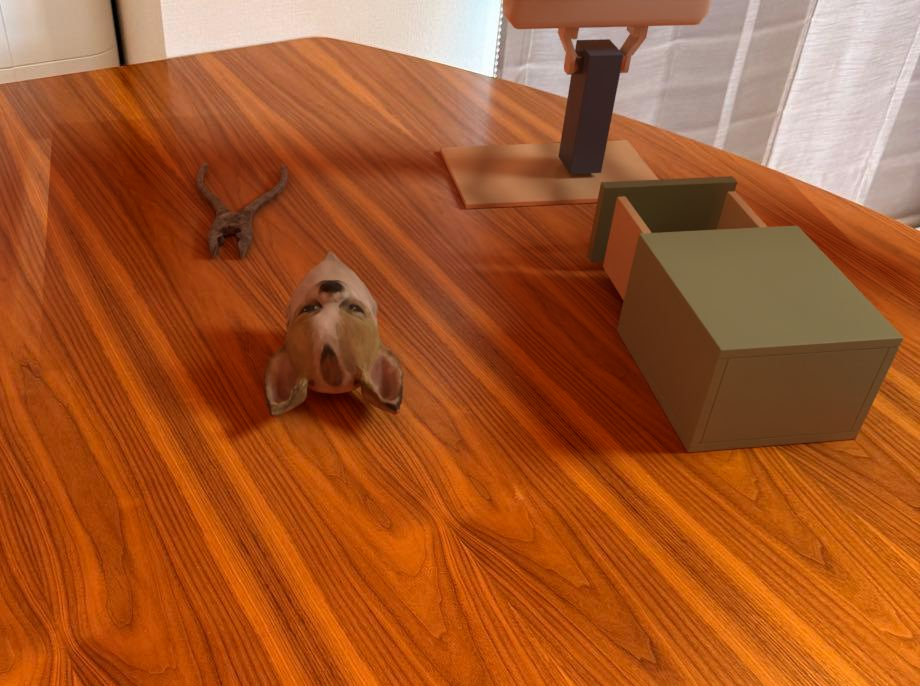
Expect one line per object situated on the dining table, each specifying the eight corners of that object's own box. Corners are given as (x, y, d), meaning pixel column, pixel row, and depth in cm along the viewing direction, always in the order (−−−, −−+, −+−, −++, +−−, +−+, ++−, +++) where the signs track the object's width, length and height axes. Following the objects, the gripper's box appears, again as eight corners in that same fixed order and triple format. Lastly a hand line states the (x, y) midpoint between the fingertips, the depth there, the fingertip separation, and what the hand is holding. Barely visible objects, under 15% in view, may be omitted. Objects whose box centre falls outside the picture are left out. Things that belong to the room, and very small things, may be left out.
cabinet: (616, 330, 84) (638, 233, 78) (763, 321, 86) (797, 225, 79) (687, 453, 73) (720, 349, 66) (856, 439, 74) (904, 337, 68)
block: (588, 155, 107) (609, 39, 99) (601, 173, 104) (623, 54, 96) (558, 156, 107) (576, 39, 99) (569, 174, 104) (589, 55, 95)
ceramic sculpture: (396, 232, 77) (410, 348, 67) (393, 323, 84) (405, 441, 74) (262, 234, 77) (255, 351, 67) (269, 325, 83) (264, 444, 73)
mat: (626, 144, 112) (627, 139, 112) (670, 199, 102) (671, 194, 102) (439, 151, 110) (440, 147, 109) (466, 208, 100) (466, 204, 99)
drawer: (573, 235, 94) (586, 161, 89) (694, 229, 96) (714, 156, 91) (642, 349, 81) (662, 270, 76) (782, 340, 82) (811, 261, 77)
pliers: (282, 155, 105) (312, 244, 92) (283, 163, 106) (312, 252, 92) (192, 161, 104) (209, 252, 90) (193, 169, 104) (210, 261, 91)
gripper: (716, -96, 93) (680, 58, 102) (507, -94, 90) (491, 63, 100) (743, -79, 88) (703, 80, 98) (524, -77, 86) (506, 86, 95)
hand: (595, 72), depth 99 cm, fingers closed on block, 3 cm apart
